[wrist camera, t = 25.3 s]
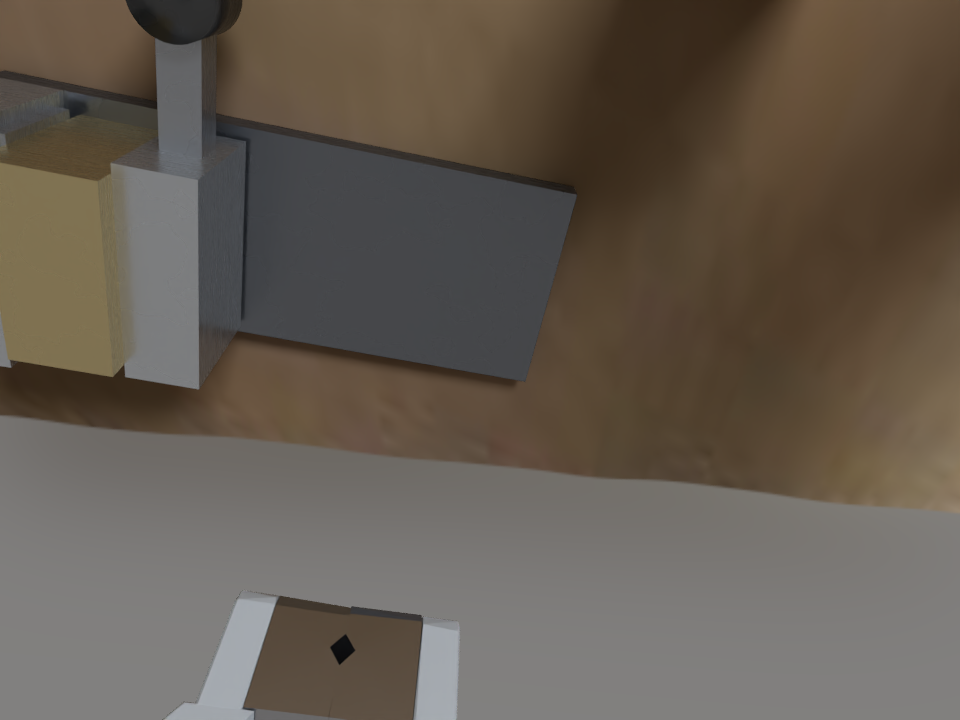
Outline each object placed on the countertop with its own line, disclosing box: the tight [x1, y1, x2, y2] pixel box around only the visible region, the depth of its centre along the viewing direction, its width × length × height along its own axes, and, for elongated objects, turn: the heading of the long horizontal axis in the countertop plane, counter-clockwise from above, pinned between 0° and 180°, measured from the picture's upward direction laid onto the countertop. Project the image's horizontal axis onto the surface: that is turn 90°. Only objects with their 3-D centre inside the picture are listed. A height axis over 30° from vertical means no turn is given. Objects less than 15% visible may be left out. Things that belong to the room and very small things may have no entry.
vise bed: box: [0, 71, 577, 382], centre depth 30 cm, size 25×10×7 cm, turn 79°
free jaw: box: [110, 0, 246, 389], centre depth 27 cm, size 3×16×6 cm, turn 169°
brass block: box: [0, 115, 158, 377], centre depth 28 cm, size 4×8×7 cm, turn 169°
